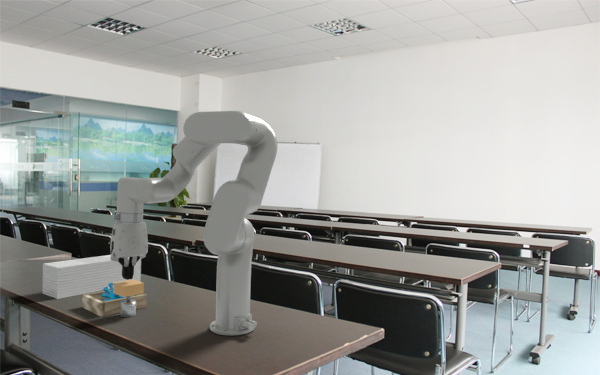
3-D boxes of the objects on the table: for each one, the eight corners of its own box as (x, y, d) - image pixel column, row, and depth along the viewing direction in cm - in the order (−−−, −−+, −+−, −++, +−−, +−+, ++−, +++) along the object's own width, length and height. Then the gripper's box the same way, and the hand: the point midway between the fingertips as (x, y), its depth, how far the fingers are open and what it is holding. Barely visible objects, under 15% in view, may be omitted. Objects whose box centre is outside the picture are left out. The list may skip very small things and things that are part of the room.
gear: (102, 307, 138) (102, 279, 144) (98, 317, 141) (98, 289, 148) (139, 307, 144) (137, 280, 150) (134, 317, 147) (132, 290, 154)
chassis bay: (146, 307, 145) (146, 294, 145) (100, 316, 134) (100, 303, 134) (126, 298, 154) (126, 287, 154) (81, 307, 143) (81, 294, 143)
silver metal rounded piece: (138, 315, 137) (139, 294, 137) (124, 318, 134) (125, 296, 133) (131, 311, 140) (131, 291, 140) (117, 314, 136) (118, 293, 136)
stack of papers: (124, 279, 184) (125, 252, 184) (140, 283, 178) (141, 256, 177) (42, 294, 158) (42, 263, 158) (57, 299, 152) (57, 267, 152)
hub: (143, 293, 137) (144, 282, 137) (123, 297, 132) (123, 286, 132) (133, 289, 141) (133, 279, 141) (113, 293, 136) (113, 282, 136)
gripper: (111, 220, 128) (109, 284, 128) (158, 218, 139) (156, 277, 140) (99, 218, 133) (97, 279, 134) (146, 216, 144) (144, 273, 145)
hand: (127, 278), depth 137 cm, fingers closed
